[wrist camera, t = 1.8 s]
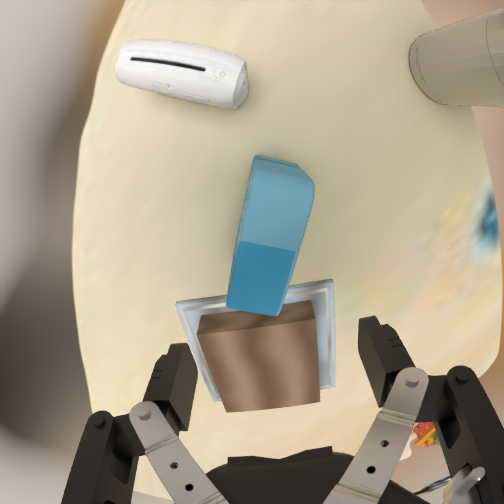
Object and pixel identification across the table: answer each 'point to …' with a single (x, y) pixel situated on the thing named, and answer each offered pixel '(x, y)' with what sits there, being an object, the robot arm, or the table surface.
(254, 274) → the data package
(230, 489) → the robot arm
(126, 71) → the photo printer
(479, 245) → the table surface
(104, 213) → the table surface
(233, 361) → the base
